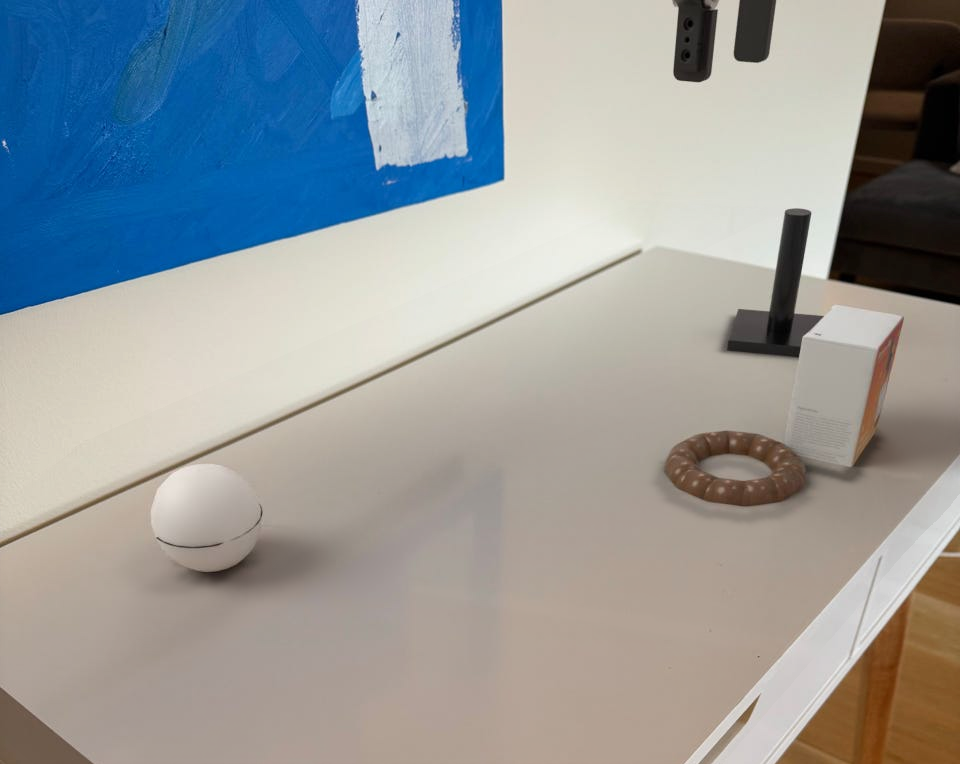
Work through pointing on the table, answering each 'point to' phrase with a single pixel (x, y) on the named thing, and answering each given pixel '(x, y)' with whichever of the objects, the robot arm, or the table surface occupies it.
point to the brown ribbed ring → (729, 491)
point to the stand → (779, 299)
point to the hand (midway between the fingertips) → (722, 70)
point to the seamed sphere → (206, 517)
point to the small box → (841, 383)
